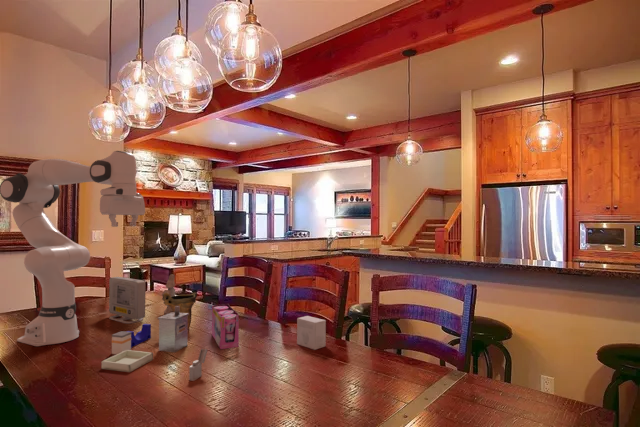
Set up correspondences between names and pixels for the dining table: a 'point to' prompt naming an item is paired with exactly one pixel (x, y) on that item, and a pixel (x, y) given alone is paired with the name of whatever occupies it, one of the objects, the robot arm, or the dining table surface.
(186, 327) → the box
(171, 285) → the figurine
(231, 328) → the gum box
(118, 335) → the block
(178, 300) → the pot
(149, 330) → the blue notched block
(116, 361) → the parts tray
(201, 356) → the lighter
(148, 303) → the dining table surface
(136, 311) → the network device
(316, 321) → the skincare box
